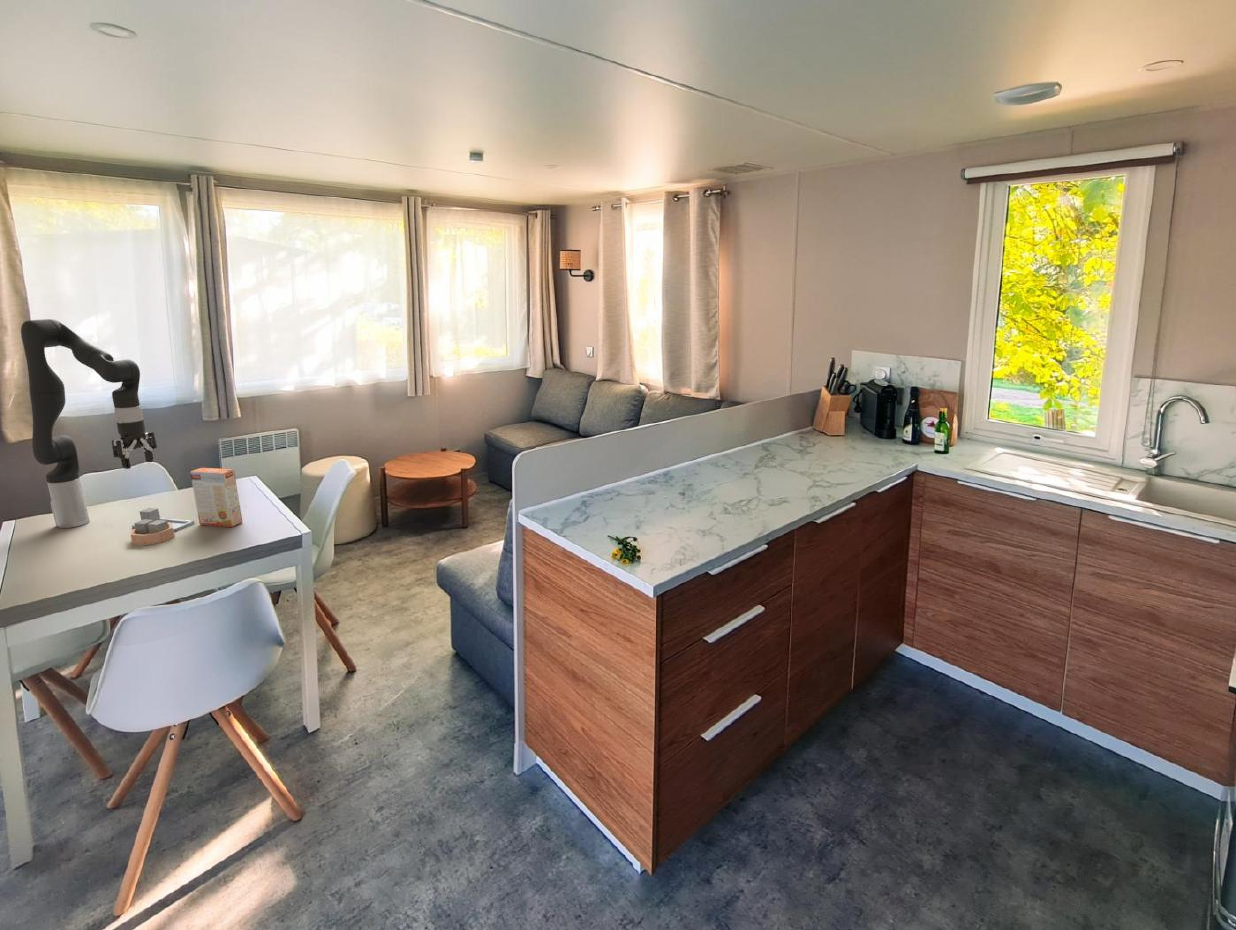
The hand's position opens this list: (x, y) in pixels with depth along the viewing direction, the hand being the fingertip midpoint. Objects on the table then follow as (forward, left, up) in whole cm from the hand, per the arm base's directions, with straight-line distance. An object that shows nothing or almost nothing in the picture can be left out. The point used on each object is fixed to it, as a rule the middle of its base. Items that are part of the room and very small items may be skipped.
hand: (138, 465), depth 227 cm
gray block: (-8, +7, -25) cm, 28 cm away
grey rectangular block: (+7, -3, -25) cm, 26 cm away
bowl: (+4, -3, -26) cm, 26 cm away
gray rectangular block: (+2, -4, -25) cm, 25 cm away
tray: (-3, +7, -26) cm, 27 cm away
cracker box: (+16, +14, -26) cm, 33 cm away
